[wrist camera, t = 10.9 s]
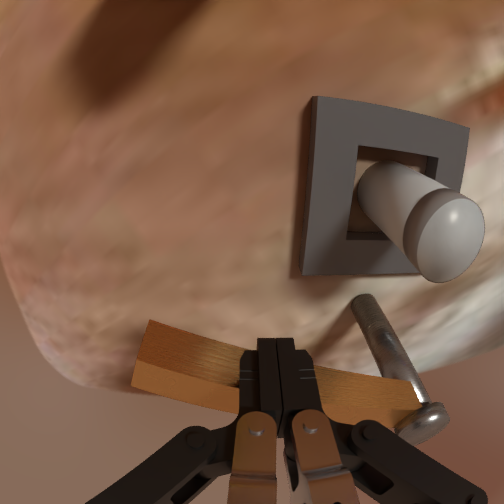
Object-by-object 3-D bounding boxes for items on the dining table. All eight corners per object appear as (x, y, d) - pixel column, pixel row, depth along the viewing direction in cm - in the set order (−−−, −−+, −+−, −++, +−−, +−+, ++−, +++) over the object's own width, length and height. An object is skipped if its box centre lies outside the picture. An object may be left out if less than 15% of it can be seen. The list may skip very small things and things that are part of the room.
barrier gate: (186, 219, 22) (132, 370, 9) (388, 294, 26) (459, 415, 13) (172, 259, 23) (123, 415, 11) (366, 323, 27) (422, 445, 15)
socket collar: (458, 125, 19) (469, 128, 17) (430, 263, 25) (438, 271, 23) (312, 96, 18) (317, 96, 17) (298, 265, 24) (302, 275, 23)
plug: (417, 163, 20) (493, 202, 12) (406, 222, 23) (469, 280, 15) (361, 156, 20) (429, 193, 12) (352, 220, 22) (405, 285, 15)
